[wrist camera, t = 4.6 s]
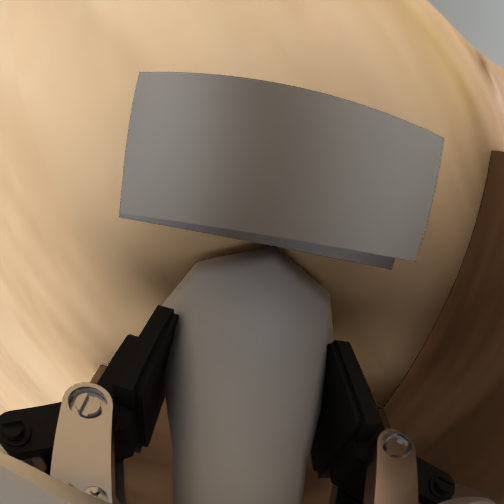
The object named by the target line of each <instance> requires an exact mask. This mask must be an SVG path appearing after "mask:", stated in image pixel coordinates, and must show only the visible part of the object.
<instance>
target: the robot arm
mask: <svg viewBox="0 0 504 504" xmlns="http://www.w3.org/2000/svg"><path fill="white" fill-rule="evenodd" d="M178 318H179V314H175V313H174V309H172V308H168V307H164V306H160V305H158V306H157V308H156V309H155V311H154V313H153V314H152V316H151V317H150V319H149V321H148V322H147V324H146V326H145V327H144V329H143V330H142V332H141V334H140V335H139V337H137V336H134V335H128V336H127V337H126V338H125V340H124V341H123V343H122V344H121V346H120V347H119V349H118V350H117V352H116V354H115V355H114V357H113V358H112V360H111V361H110V363H109V365H108V366H107V368H106V369H105V371H104V373H103V374H102V376H101V377H100V379H99V381H98V382H97V384H93V383H84V382H83V383H78V384H75V385H73V386H71V387H70V388H69V389H68V390H67V391H66V392H65V394H64V396H63V399H62V402H59V403H54V404H49V405H44V406H38V407H32V408H26V409H20V410H13V411H8V412H5V413H3V414H2V415H0V504H128V497H127V485H126V468H125V459H127V458H130V457H133V455H134V452H137V453H140V452H141V449H142V446H144V447H148V446H149V443H150V440H151V437H152V434H153V431H154V428H155V425H156V422H157V419H158V416H159V413H160V410H161V407H162V404H163V402H164V399H165V387H164V377H163V375H164V371H165V367H166V363H167V359H168V355H169V351H170V347H171V344H172V340H173V336H174V332H175V329H176V325H177V321H178ZM310 452H311V459H312V466H313V470H314V471H317V473H318V478H330V479H331V483H333V485H332V490H331V495H330V500H329V504H496V503H495V502H494V501H493V498H492V497H491V495H490V494H488V493H487V492H484V491H480V490H477V489H475V488H472V487H469V486H466V485H463V484H461V483H458V482H457V483H456V484H455V482H454V480H453V478H452V477H451V476H450V475H449V474H448V473H446V472H445V471H443V470H441V469H439V468H437V467H435V466H433V465H431V464H429V463H428V462H426V461H424V460H422V459H420V458H419V457H417V456H416V451H415V445H414V442H413V440H412V439H411V437H410V436H409V435H408V434H407V433H405V432H403V431H402V430H398V429H391V428H390V429H386V430H385V428H384V425H383V421H382V419H381V416H380V414H379V411H378V409H377V406H376V404H375V401H374V399H373V396H372V394H371V391H370V389H369V387H368V384H367V382H366V380H365V377H364V375H363V372H362V370H361V368H360V365H359V363H358V361H357V359H356V356H355V354H354V352H353V349H352V347H351V345H350V343H349V342H344V341H336V340H334V341H333V342H332V343H331V344H330V343H329V344H327V357H326V369H325V380H324V389H323V399H322V407H321V411H320V416H319V420H318V424H317V428H316V432H315V436H314V440H313V444H312V448H311V451H310Z"/></svg>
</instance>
